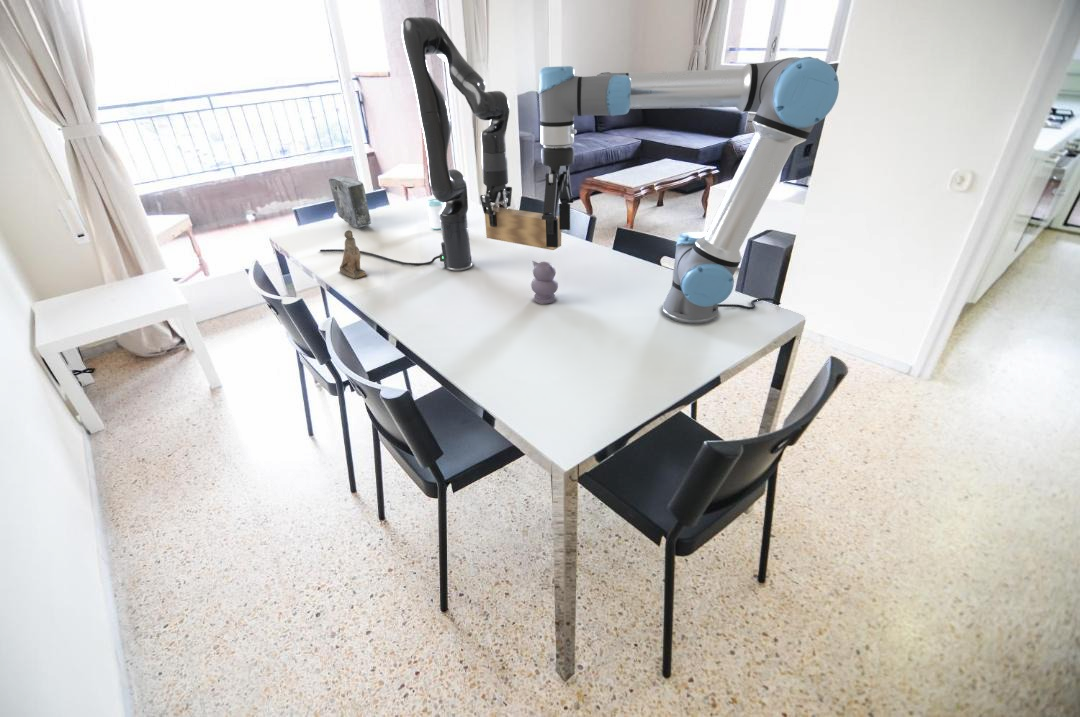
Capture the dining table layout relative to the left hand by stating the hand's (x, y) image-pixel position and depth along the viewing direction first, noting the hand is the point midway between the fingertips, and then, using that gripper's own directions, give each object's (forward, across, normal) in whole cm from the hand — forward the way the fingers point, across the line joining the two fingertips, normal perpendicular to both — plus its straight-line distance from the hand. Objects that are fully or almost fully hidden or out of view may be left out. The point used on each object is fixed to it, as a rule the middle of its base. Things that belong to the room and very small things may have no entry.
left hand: (498, 223), depth 157 cm
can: (+21, -39, -62) cm, 76 cm away
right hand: (-7, +21, +34) cm, 40 cm away
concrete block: (+22, -26, -100) cm, 105 cm away
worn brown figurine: (+21, +18, -53) cm, 60 cm away
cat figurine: (+19, +6, +20) cm, 29 cm away
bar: (+4, 0, +9) cm, 10 cm away
